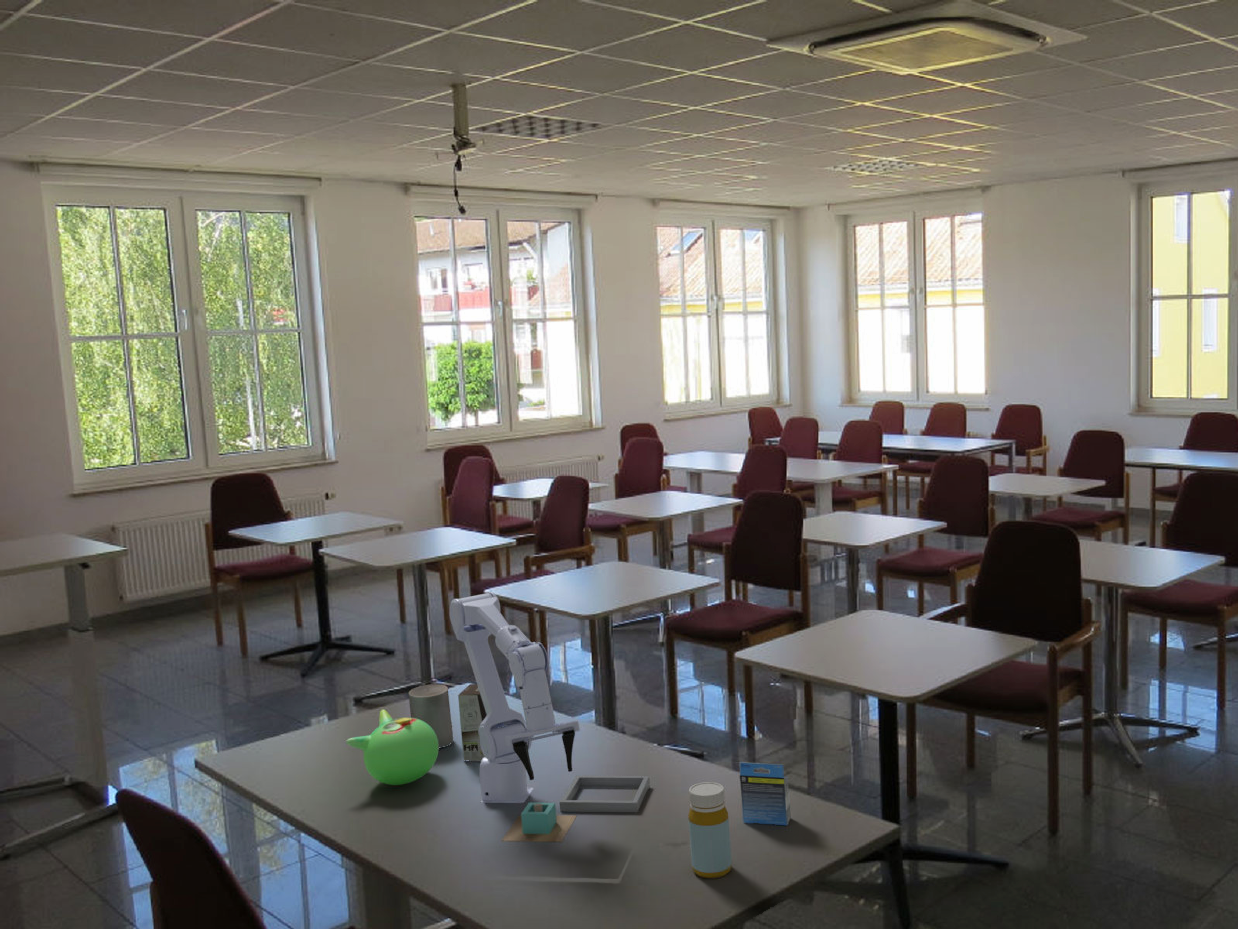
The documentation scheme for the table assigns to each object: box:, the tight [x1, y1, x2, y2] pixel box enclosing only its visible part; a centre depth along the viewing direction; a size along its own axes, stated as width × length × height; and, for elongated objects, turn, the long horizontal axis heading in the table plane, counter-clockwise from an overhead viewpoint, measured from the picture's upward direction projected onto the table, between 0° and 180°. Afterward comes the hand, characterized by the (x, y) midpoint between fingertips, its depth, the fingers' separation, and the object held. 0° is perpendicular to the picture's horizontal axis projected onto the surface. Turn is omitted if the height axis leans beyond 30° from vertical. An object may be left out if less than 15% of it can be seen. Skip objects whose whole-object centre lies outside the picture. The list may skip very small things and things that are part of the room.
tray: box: [559, 775, 651, 813], centre depth 235 cm, size 16×14×2 cm
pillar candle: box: [408, 683, 454, 747], centre depth 277 cm, size 10×10×15 cm
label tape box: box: [739, 761, 792, 826], centre depth 218 cm, size 9×4×12 cm, turn 71°
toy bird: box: [345, 709, 439, 786], centre depth 254 cm, size 18×17×15 cm
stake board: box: [501, 804, 578, 843], centre depth 222 cm, size 12×12×5 cm
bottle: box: [688, 781, 733, 879], centre depth 199 cm, size 7×7×15 cm
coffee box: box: [457, 683, 496, 762], centre depth 267 cm, size 9×6×16 cm
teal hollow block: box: [520, 802, 557, 834], centre depth 223 cm, size 5×7×4 cm
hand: (551, 775), depth 222 cm, fingers open, 7 cm apart
